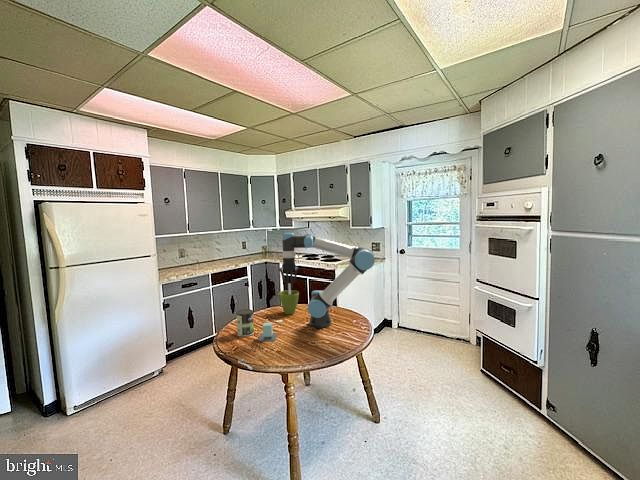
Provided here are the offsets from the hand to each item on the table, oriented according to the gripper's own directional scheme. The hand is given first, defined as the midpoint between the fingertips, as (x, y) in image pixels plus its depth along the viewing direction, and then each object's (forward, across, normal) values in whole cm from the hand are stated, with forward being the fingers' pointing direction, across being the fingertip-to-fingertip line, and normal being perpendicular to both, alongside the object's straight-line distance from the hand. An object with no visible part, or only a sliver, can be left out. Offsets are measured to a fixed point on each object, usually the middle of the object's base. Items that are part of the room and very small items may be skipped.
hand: (289, 293), depth 191 cm
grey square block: (+24, +14, +10) cm, 30 cm away
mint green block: (+22, +13, +10) cm, 28 cm away
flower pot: (+24, +2, -35) cm, 43 cm away
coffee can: (+24, +28, +2) cm, 37 cm away
